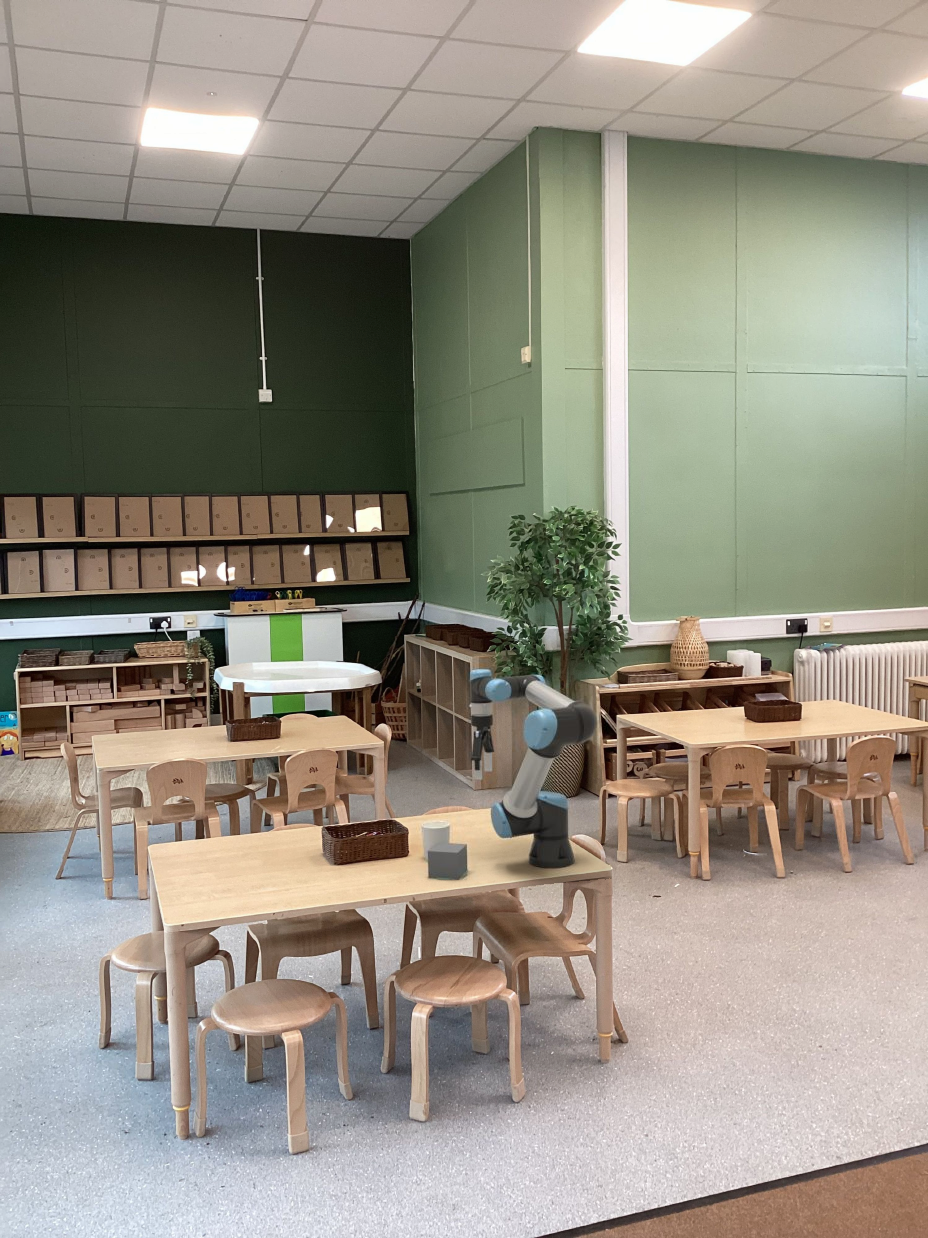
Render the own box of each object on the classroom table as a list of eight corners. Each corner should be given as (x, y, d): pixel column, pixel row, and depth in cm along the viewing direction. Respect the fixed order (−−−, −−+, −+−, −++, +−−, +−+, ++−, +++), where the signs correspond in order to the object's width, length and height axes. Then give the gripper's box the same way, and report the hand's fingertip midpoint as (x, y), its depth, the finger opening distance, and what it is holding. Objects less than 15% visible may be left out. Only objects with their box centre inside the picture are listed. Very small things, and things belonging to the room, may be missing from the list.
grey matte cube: (467, 870, 353) (466, 844, 353) (458, 880, 344) (458, 852, 343) (437, 868, 356) (437, 842, 356) (428, 878, 347) (427, 851, 346)
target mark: (471, 869, 354) (471, 869, 354) (461, 881, 343) (461, 880, 343) (436, 867, 357) (436, 867, 357) (425, 878, 346) (425, 878, 346)
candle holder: (447, 863, 362) (446, 828, 361) (419, 862, 364) (418, 827, 363) (453, 855, 372) (452, 820, 371) (426, 854, 374) (425, 820, 373)
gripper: (480, 708, 385) (482, 767, 387) (461, 720, 361) (463, 782, 363) (501, 709, 383) (502, 768, 385) (482, 720, 359) (484, 783, 361)
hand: (483, 775), depth 374 cm, fingers open, 13 cm apart
